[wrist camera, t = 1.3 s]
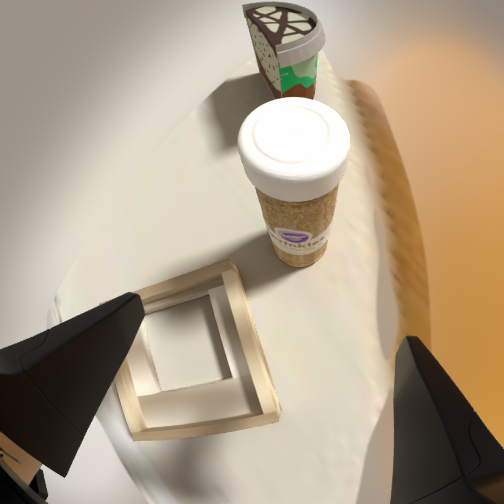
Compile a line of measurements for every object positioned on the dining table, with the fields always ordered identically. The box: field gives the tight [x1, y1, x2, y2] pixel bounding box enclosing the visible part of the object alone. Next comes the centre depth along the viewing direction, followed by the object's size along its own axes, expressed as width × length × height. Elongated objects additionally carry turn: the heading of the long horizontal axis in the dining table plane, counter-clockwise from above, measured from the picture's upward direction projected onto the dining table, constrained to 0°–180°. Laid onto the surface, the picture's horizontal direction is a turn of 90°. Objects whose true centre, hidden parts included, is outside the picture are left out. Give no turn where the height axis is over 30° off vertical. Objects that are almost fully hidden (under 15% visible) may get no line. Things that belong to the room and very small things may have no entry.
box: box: [99, 259, 282, 441], centre depth 20 cm, size 12×12×3 cm
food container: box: [242, 2, 325, 100], centre depth 23 cm, size 12×6×10 cm, turn 15°
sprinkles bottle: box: [238, 97, 350, 267], centre depth 16 cm, size 5×5×14 cm
